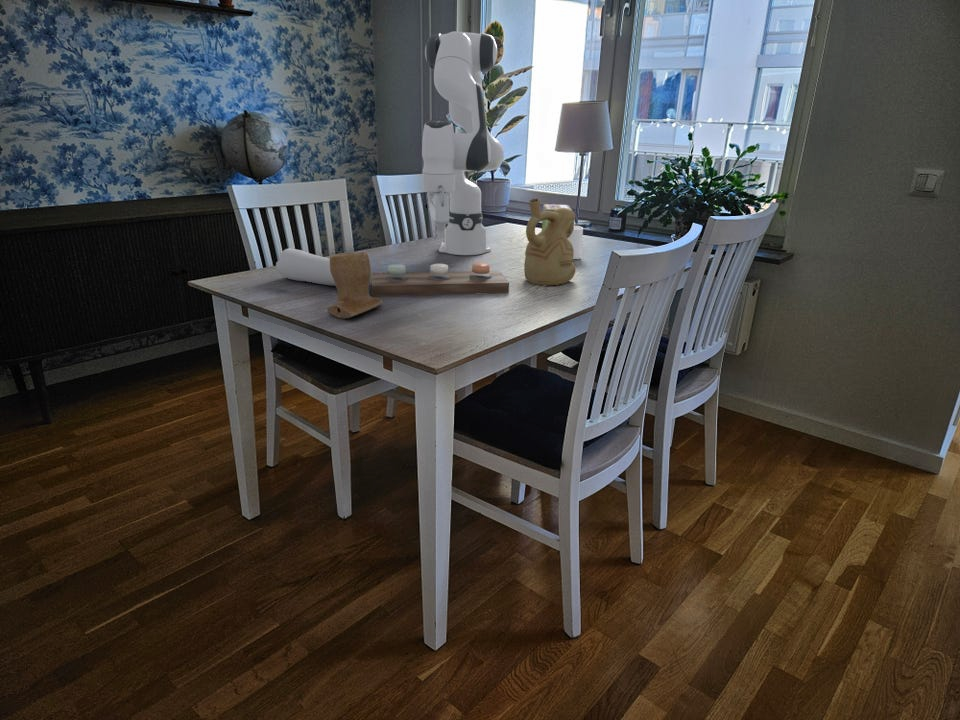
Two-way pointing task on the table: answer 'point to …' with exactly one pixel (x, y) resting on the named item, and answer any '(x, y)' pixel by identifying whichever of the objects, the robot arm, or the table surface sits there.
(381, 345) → the table surface
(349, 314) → the stone cup
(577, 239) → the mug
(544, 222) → the tea box
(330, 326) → the table surface
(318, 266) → the bottle
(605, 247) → the table surface
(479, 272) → the button terracotta
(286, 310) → the table surface
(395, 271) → the button sage
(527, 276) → the ceramic vessel
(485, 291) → the button panel
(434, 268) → the button cream
